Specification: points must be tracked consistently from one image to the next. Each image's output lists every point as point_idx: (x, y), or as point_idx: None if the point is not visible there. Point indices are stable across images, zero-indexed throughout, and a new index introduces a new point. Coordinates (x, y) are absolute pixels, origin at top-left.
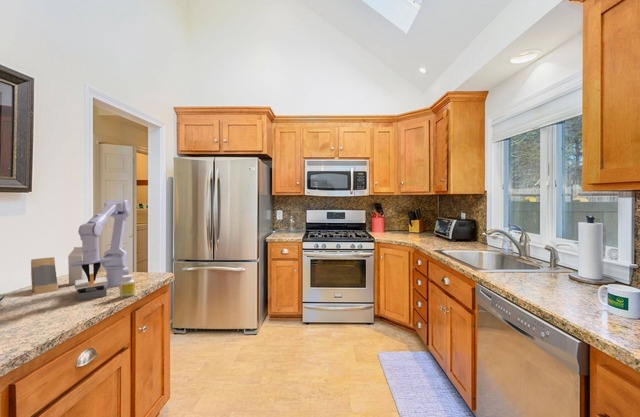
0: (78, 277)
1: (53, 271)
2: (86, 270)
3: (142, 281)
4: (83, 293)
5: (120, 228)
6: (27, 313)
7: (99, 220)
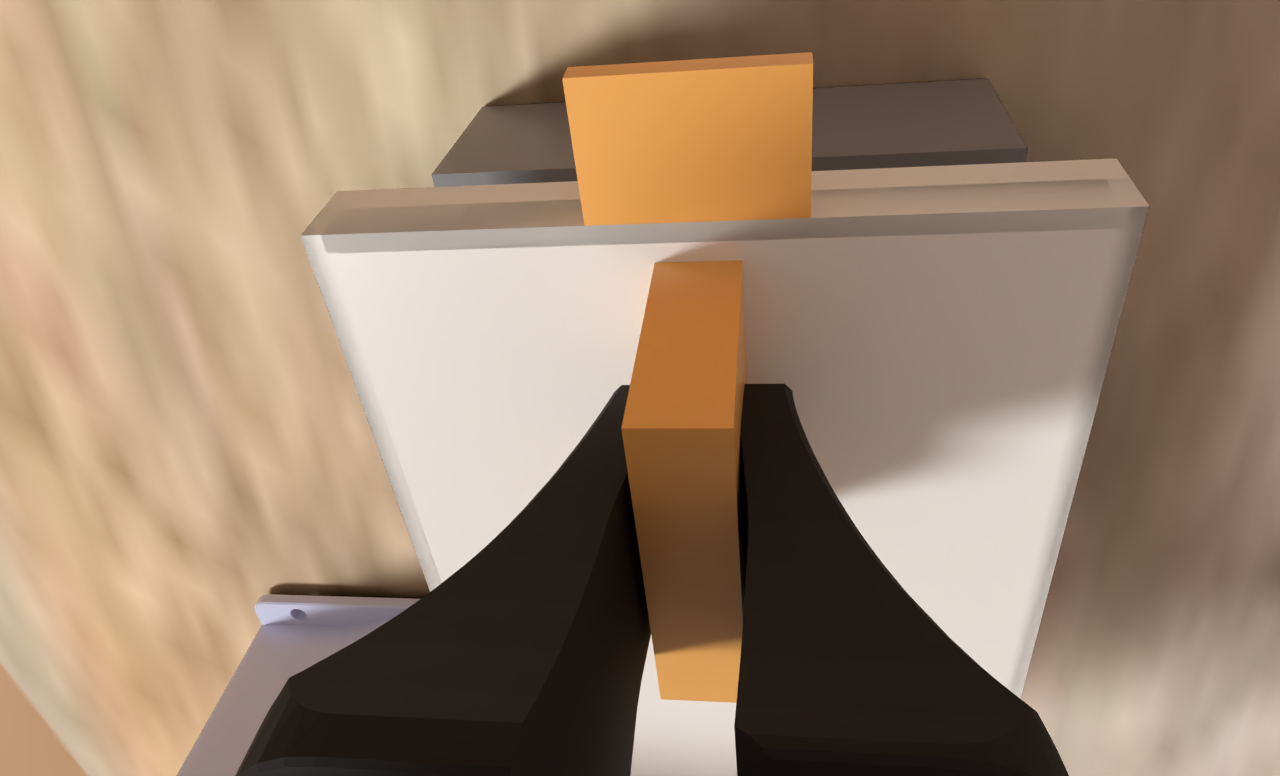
0: None
1: None
2: (858, 639)
3: (126, 649)
4: (892, 148)
5: None
6: None
7: None
